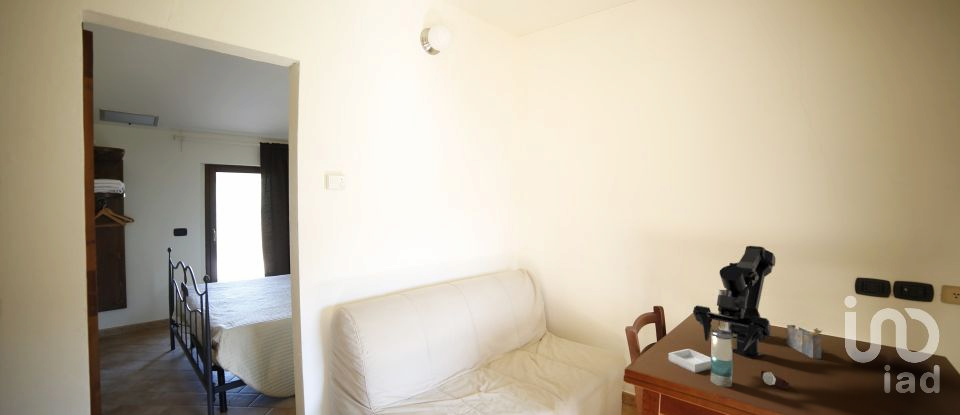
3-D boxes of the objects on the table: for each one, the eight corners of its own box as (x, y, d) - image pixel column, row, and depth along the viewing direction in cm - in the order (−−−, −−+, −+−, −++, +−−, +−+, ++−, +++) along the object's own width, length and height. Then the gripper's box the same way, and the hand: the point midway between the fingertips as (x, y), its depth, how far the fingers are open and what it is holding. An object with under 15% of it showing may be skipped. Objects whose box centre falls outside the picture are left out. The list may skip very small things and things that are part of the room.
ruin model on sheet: (822, 360, 121) (823, 330, 121) (812, 359, 122) (813, 330, 121) (795, 346, 133) (796, 319, 132) (786, 346, 133) (787, 319, 133)
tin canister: (718, 376, 108) (719, 328, 108) (736, 384, 104) (737, 334, 103) (706, 380, 106) (706, 330, 106) (724, 388, 102) (724, 337, 101)
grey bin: (688, 356, 123) (688, 348, 123) (715, 367, 114) (715, 359, 114) (668, 360, 119) (668, 352, 119) (694, 372, 111) (694, 364, 111)
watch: (755, 378, 108) (755, 366, 108) (770, 377, 108) (770, 365, 108) (779, 391, 100) (779, 378, 100) (794, 391, 101) (795, 378, 101)
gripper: (695, 279, 117) (682, 321, 109) (769, 290, 103) (760, 339, 96) (703, 300, 122) (691, 341, 115) (774, 313, 108) (766, 361, 101)
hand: (724, 345), depth 106 cm, fingers open, 9 cm apart
